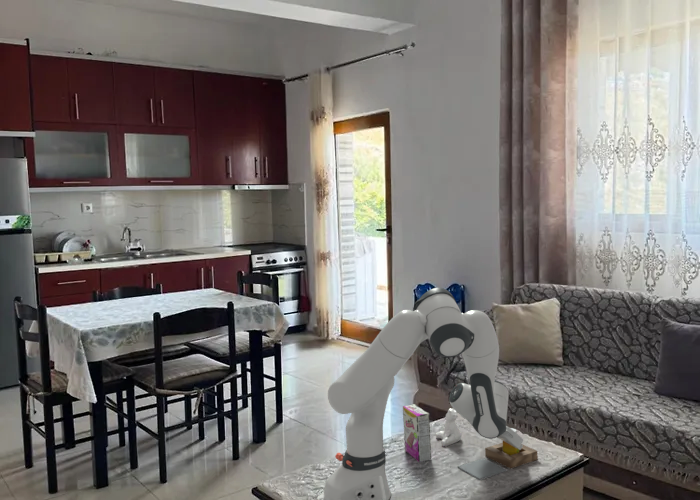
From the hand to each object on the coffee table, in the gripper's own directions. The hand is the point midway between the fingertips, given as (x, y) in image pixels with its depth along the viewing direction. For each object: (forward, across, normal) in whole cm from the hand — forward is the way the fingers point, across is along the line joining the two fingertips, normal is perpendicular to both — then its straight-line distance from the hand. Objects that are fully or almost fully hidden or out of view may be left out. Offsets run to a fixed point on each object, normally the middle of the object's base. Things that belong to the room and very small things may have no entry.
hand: (511, 442), depth 221 cm
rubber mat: (-6, -2, +13) cm, 15 cm away
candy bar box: (-14, +18, +22) cm, 32 cm away
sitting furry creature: (-3, +23, +11) cm, 26 cm away
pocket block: (+4, 0, +4) cm, 5 cm away
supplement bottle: (+4, 0, +4) cm, 6 cm away
